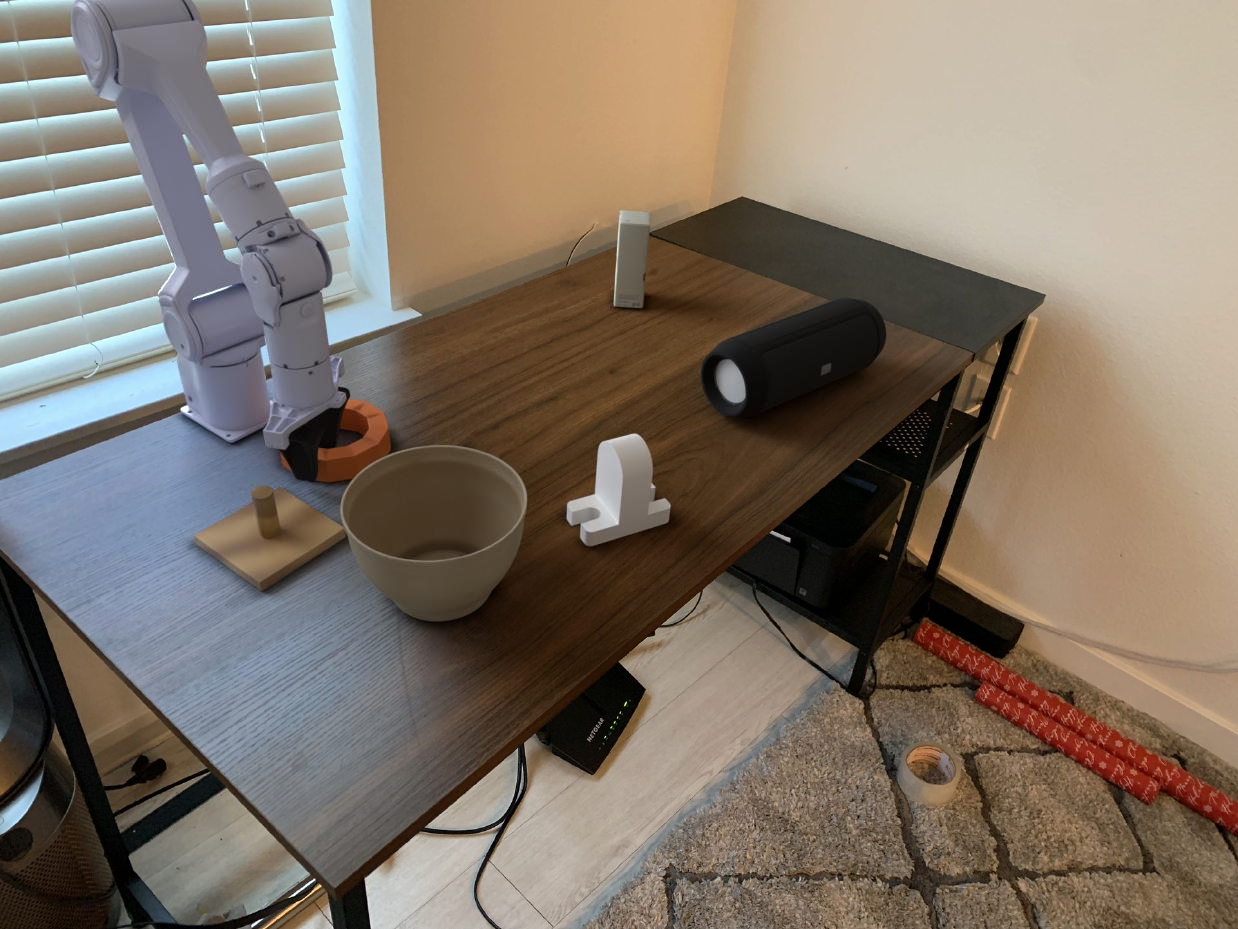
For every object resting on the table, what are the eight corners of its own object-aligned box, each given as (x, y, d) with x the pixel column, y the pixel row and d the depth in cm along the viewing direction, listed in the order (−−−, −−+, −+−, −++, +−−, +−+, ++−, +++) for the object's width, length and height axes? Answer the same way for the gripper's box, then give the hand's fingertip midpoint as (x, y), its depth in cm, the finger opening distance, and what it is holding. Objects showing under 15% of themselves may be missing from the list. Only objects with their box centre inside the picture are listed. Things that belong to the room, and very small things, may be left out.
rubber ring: (308, 413, 110) (305, 391, 108) (404, 428, 109) (402, 406, 107) (262, 472, 101) (257, 449, 99) (366, 489, 100) (363, 466, 98)
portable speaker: (746, 439, 112) (759, 367, 106) (690, 400, 118) (700, 330, 112) (881, 378, 126) (900, 311, 120) (825, 346, 132) (841, 281, 126)
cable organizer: (671, 521, 99) (681, 445, 93) (587, 547, 95) (592, 469, 89) (646, 492, 103) (654, 417, 97) (564, 516, 99) (568, 438, 93)
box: (643, 309, 136) (651, 225, 129) (612, 307, 136) (619, 223, 129) (643, 293, 141) (650, 210, 133) (613, 291, 140) (619, 208, 133)
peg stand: (195, 544, 91) (182, 495, 88) (280, 495, 98) (271, 447, 94) (261, 591, 87) (250, 541, 83) (346, 537, 94) (339, 488, 90)
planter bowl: (446, 509, 98) (442, 423, 92) (560, 584, 90) (564, 497, 84) (316, 588, 88) (301, 498, 81) (433, 681, 80) (426, 590, 74)
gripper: (306, 399, 86) (324, 513, 94) (366, 325, 97) (377, 432, 106) (233, 388, 87) (257, 502, 95) (301, 315, 98) (317, 422, 106)
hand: (316, 464), depth 100 cm, fingers open, 4 cm apart
